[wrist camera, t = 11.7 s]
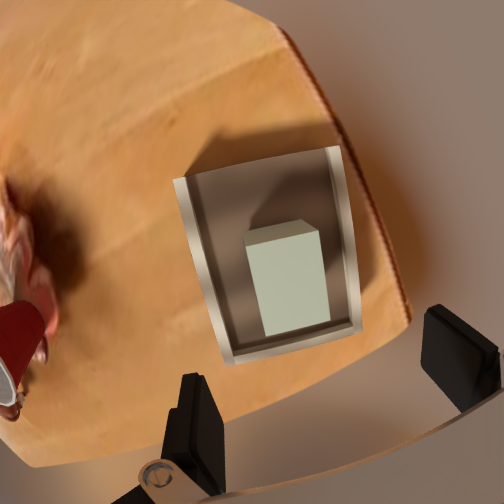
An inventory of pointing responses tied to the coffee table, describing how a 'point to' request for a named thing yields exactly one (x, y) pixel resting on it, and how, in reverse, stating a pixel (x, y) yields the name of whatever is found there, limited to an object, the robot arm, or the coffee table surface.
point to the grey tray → (262, 215)
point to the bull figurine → (12, 409)
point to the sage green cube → (288, 275)
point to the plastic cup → (17, 345)
